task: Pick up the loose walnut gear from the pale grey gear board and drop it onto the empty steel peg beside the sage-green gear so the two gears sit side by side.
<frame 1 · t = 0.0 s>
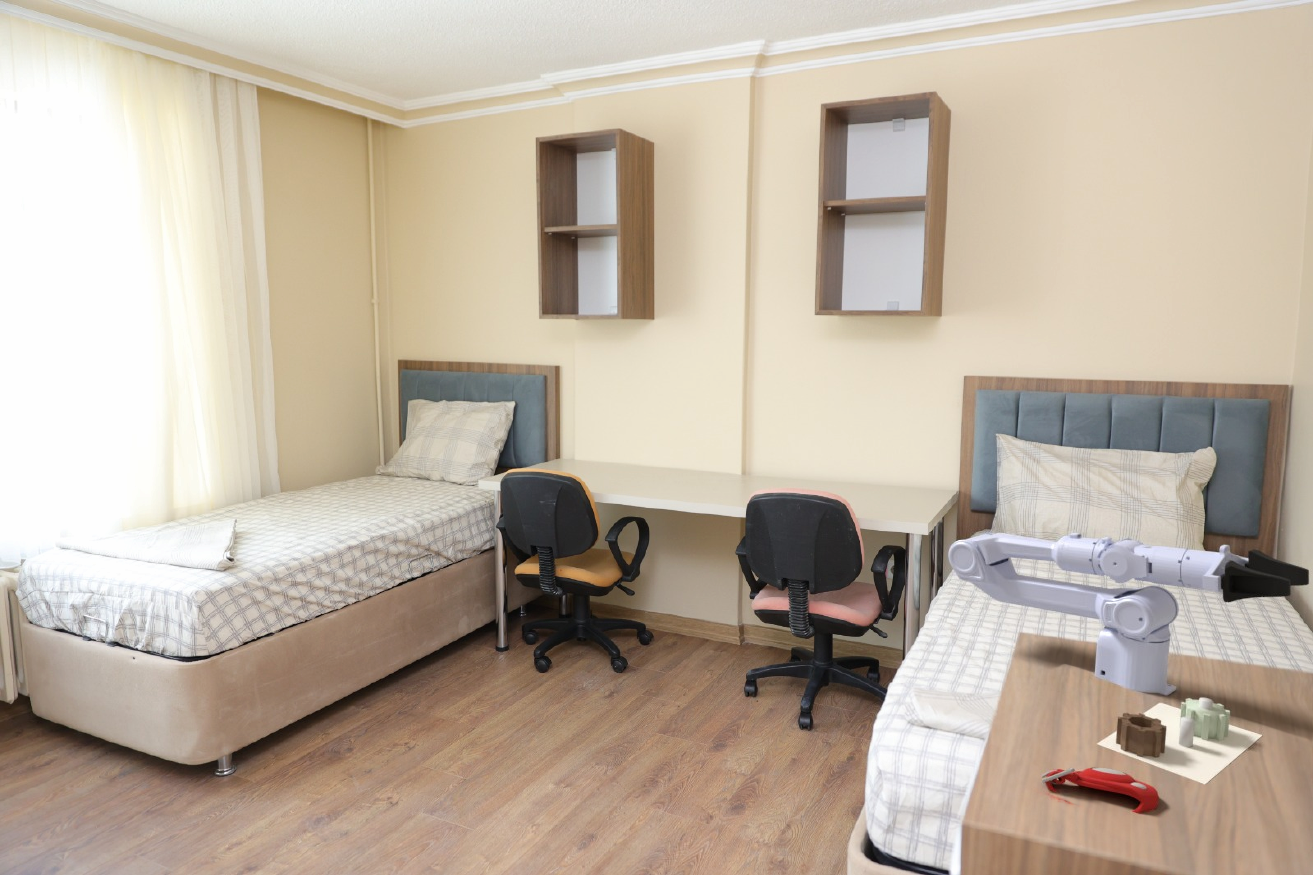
hand: (1299, 582, 119), 22 cm above the table, tool horizontal, fingers open, 7 cm apart
red peeler: (1095, 798, 106), on the table
walnut gear: (1139, 747, 116), point 1 cm above the table, touching gear board
gear board: (1179, 746, 118), on the table
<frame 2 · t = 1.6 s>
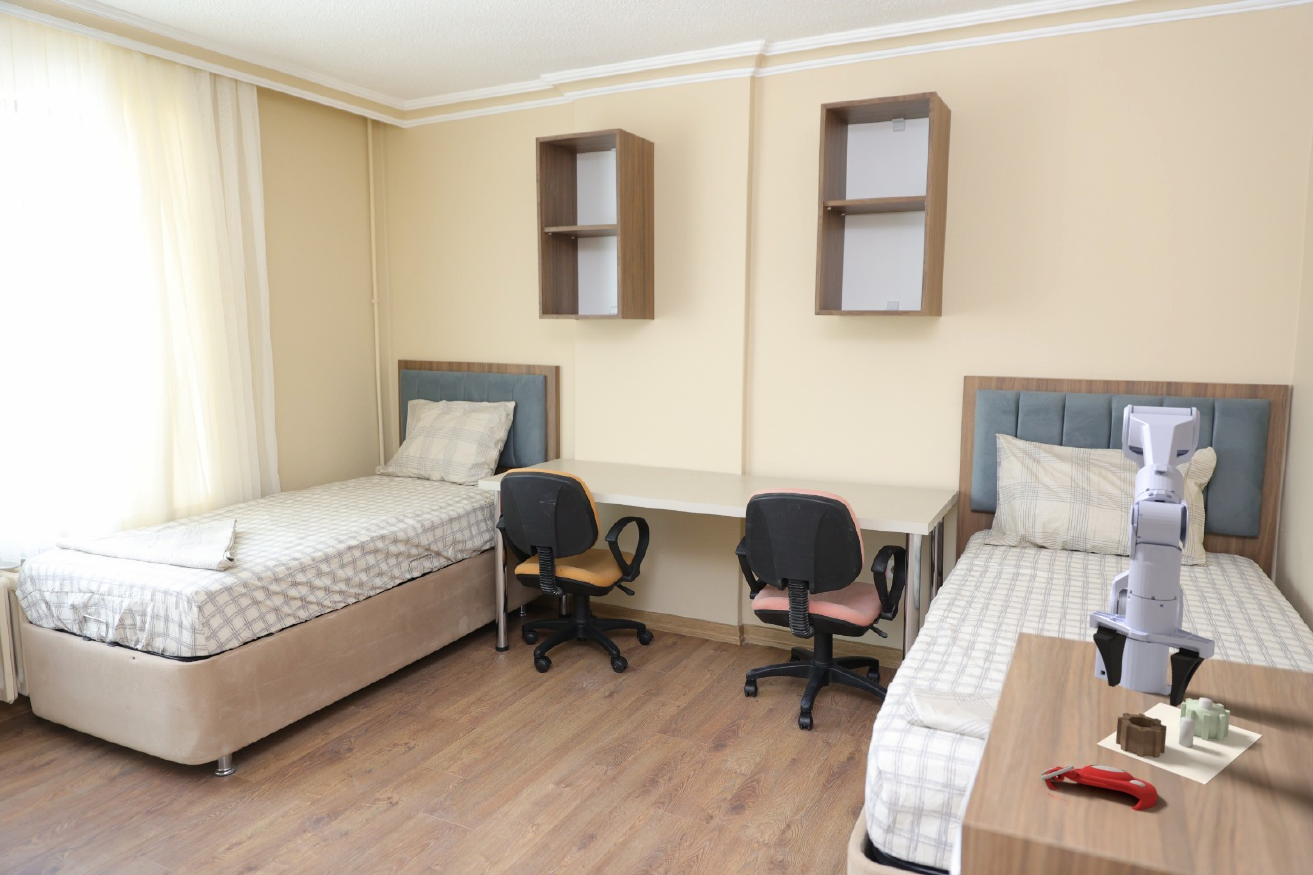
hand: (1144, 694, 115), 8 cm above the table, tool pointing down, fingers open, 7 cm apart
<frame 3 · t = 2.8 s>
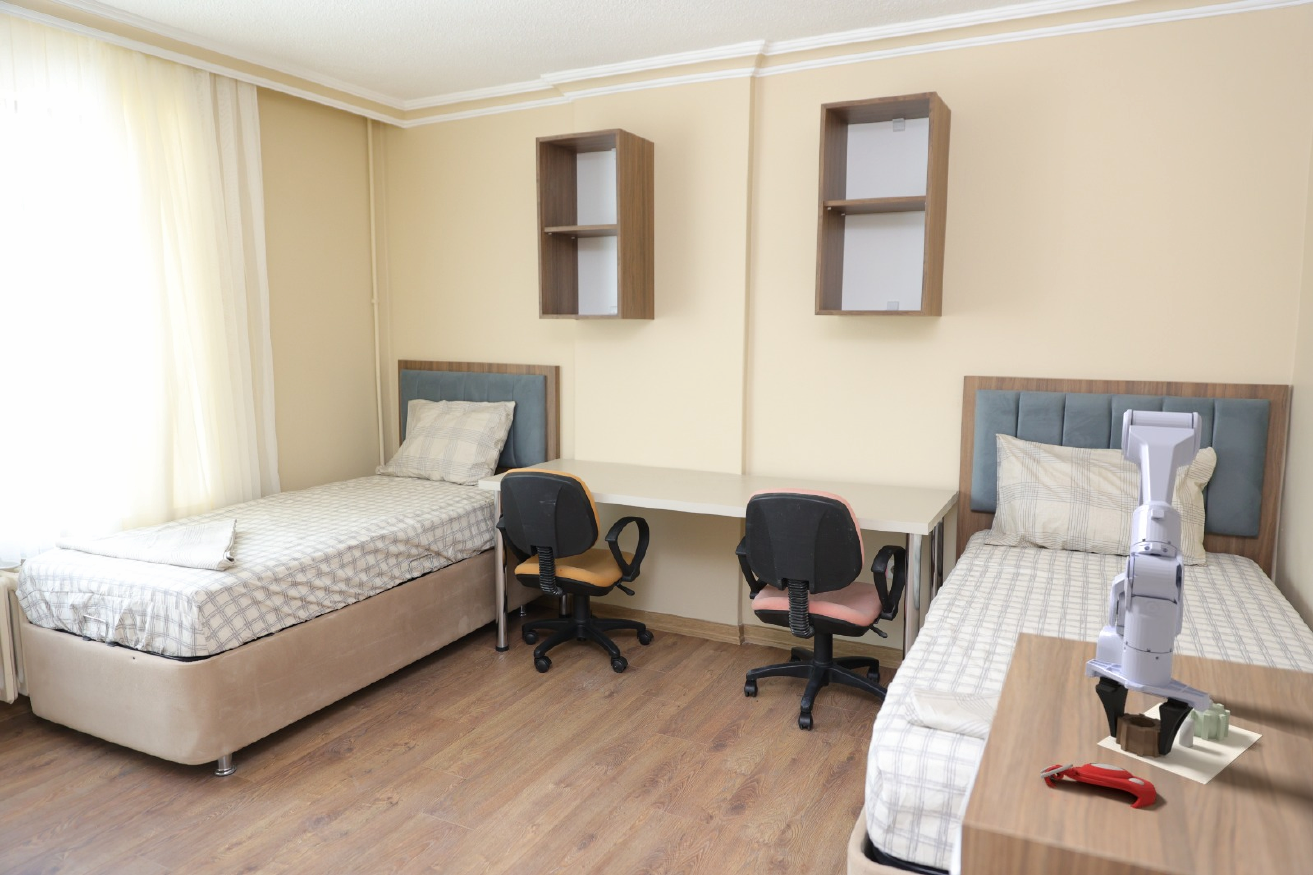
hand: (1140, 743, 116), 2 cm above the table, tool pointing down, fingers closed on walnut gear, 5 cm apart
walnut gear: (1139, 747, 116), point 1 cm above the table, touching gear board, gripper
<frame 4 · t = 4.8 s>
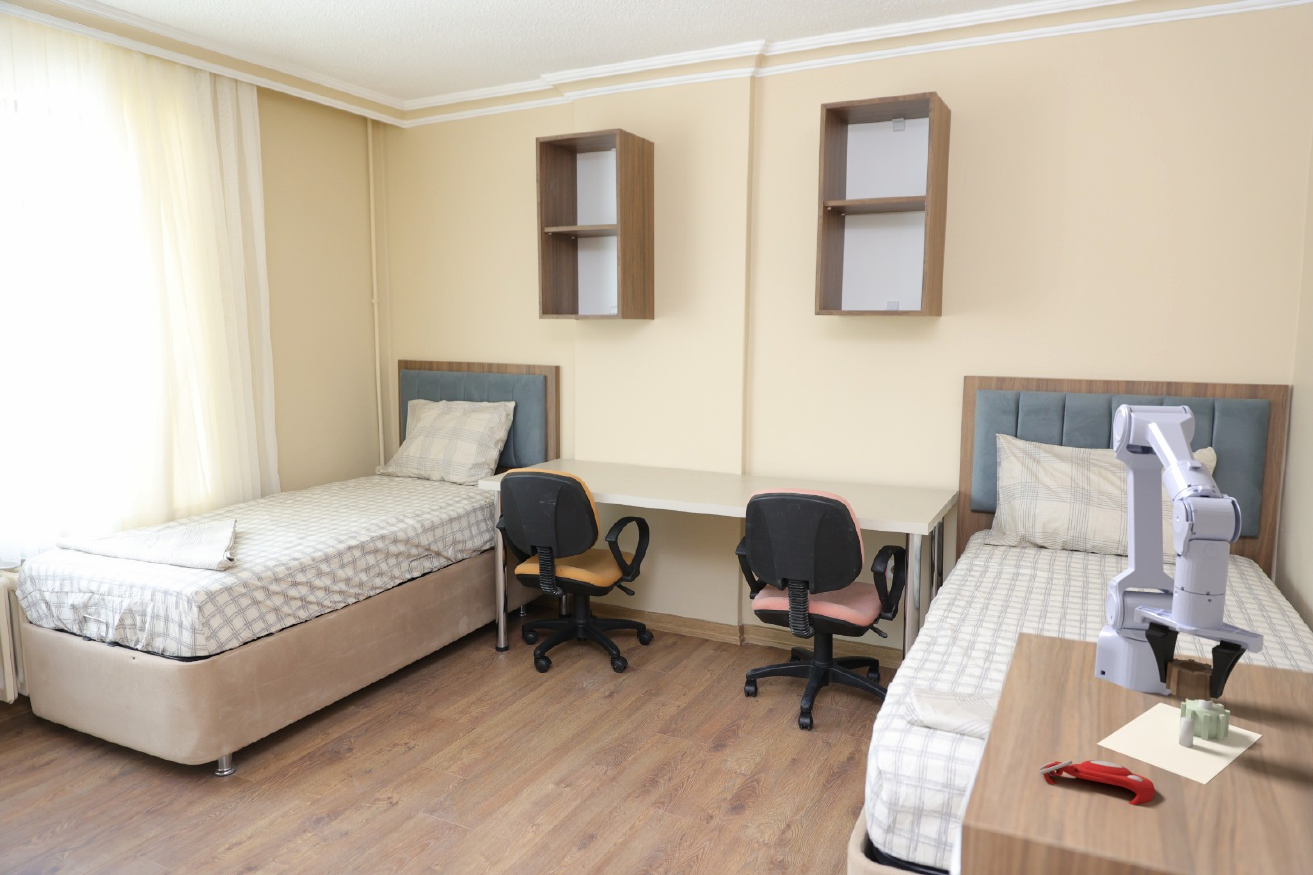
hand: (1190, 688, 115), 9 cm above the table, tool pointing down, fingers closed on walnut gear, 5 cm apart
walnut gear: (1190, 692, 115), point 8 cm above the table, touching gripper
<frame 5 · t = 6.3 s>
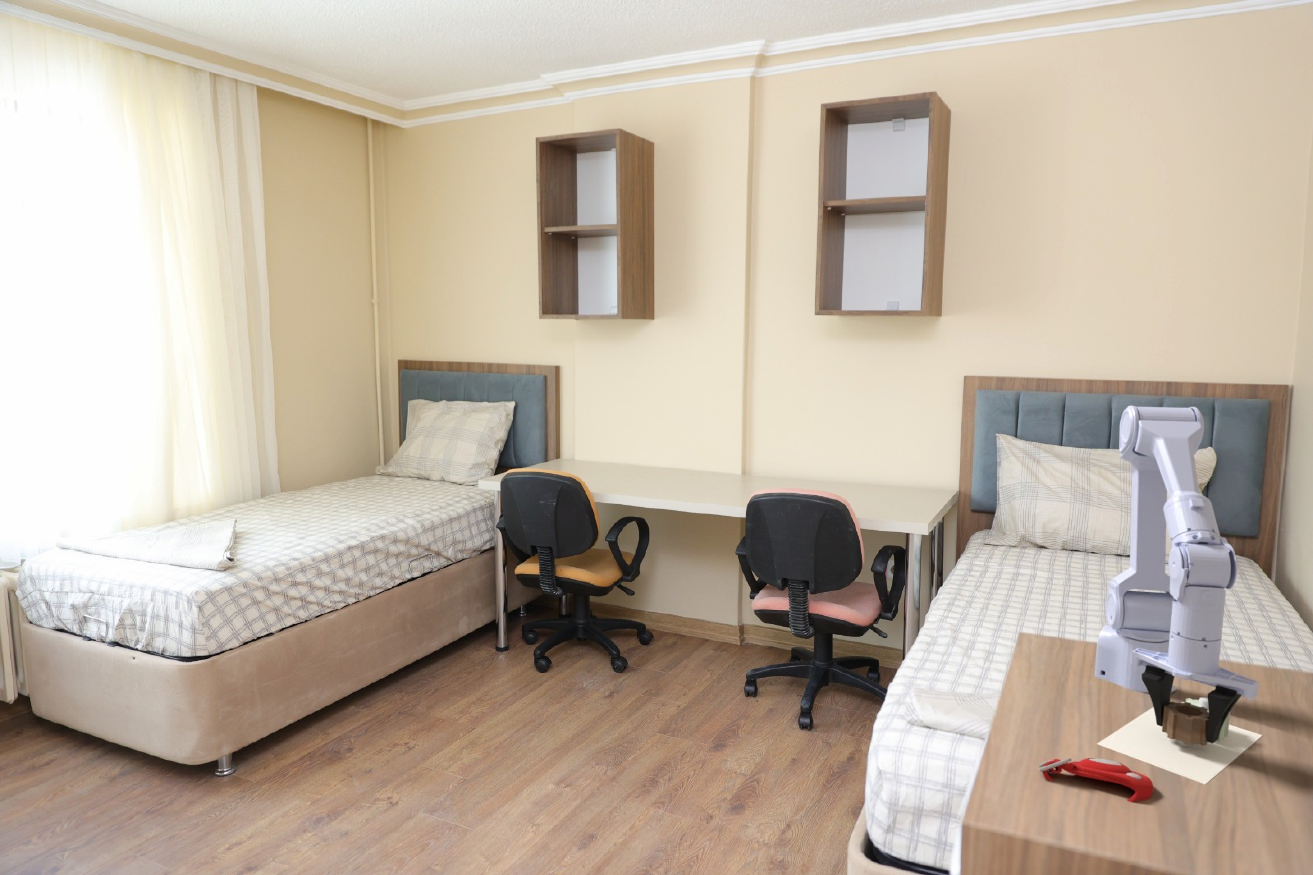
hand: (1186, 731, 116), 3 cm above the table, tool pointing down, fingers closed on walnut gear, 5 cm apart
walnut gear: (1186, 735, 116), point 2 cm above the table, touching gripper
when the fingers open (3 cm above the table, at t = 7.1 s): walnut gear drops 1 cm, resting on gear board.
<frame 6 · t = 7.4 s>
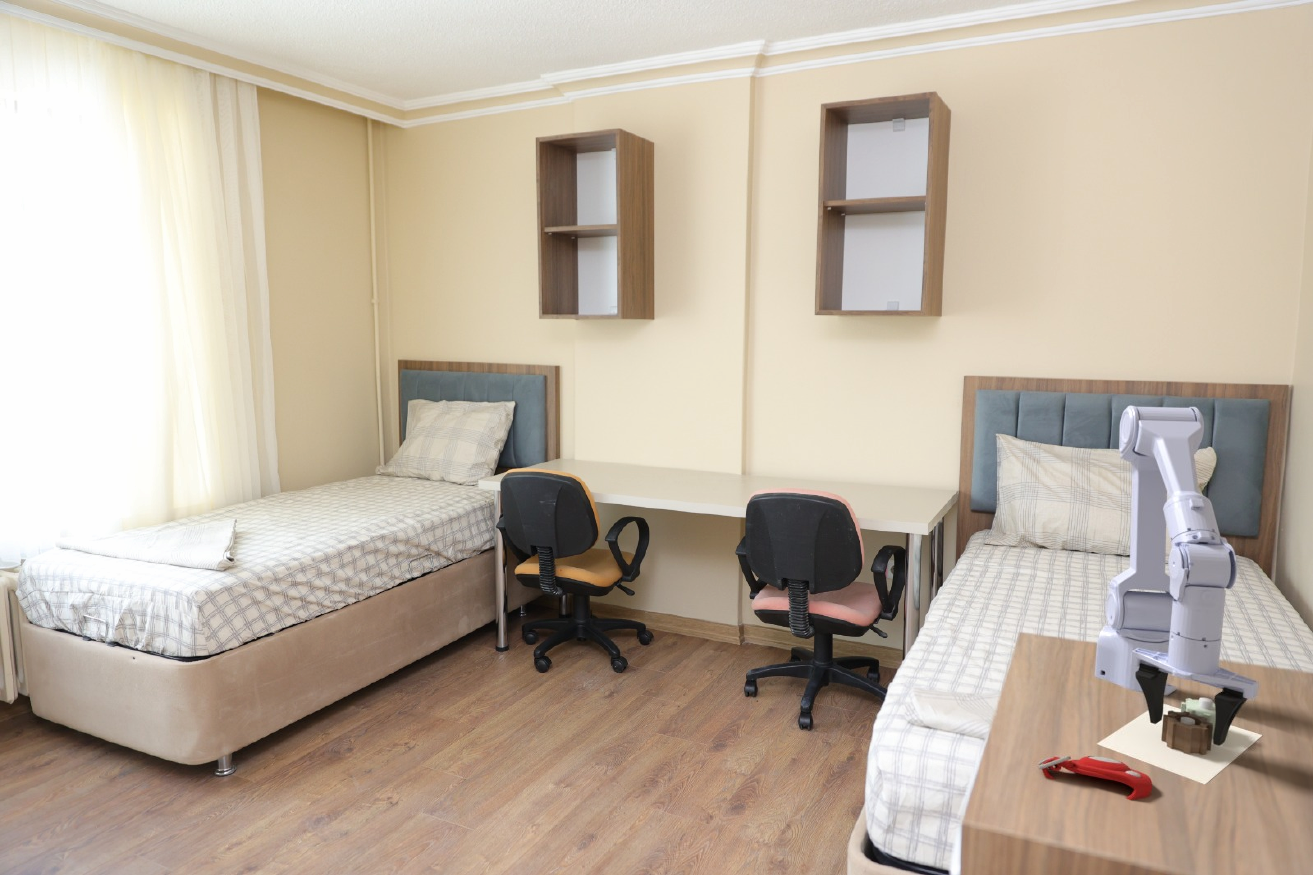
hand: (1186, 731, 116), 3 cm above the table, tool pointing down, fingers open, 7 cm apart
walnut gear: (1185, 744, 117), point 1 cm above the table, touching gear board
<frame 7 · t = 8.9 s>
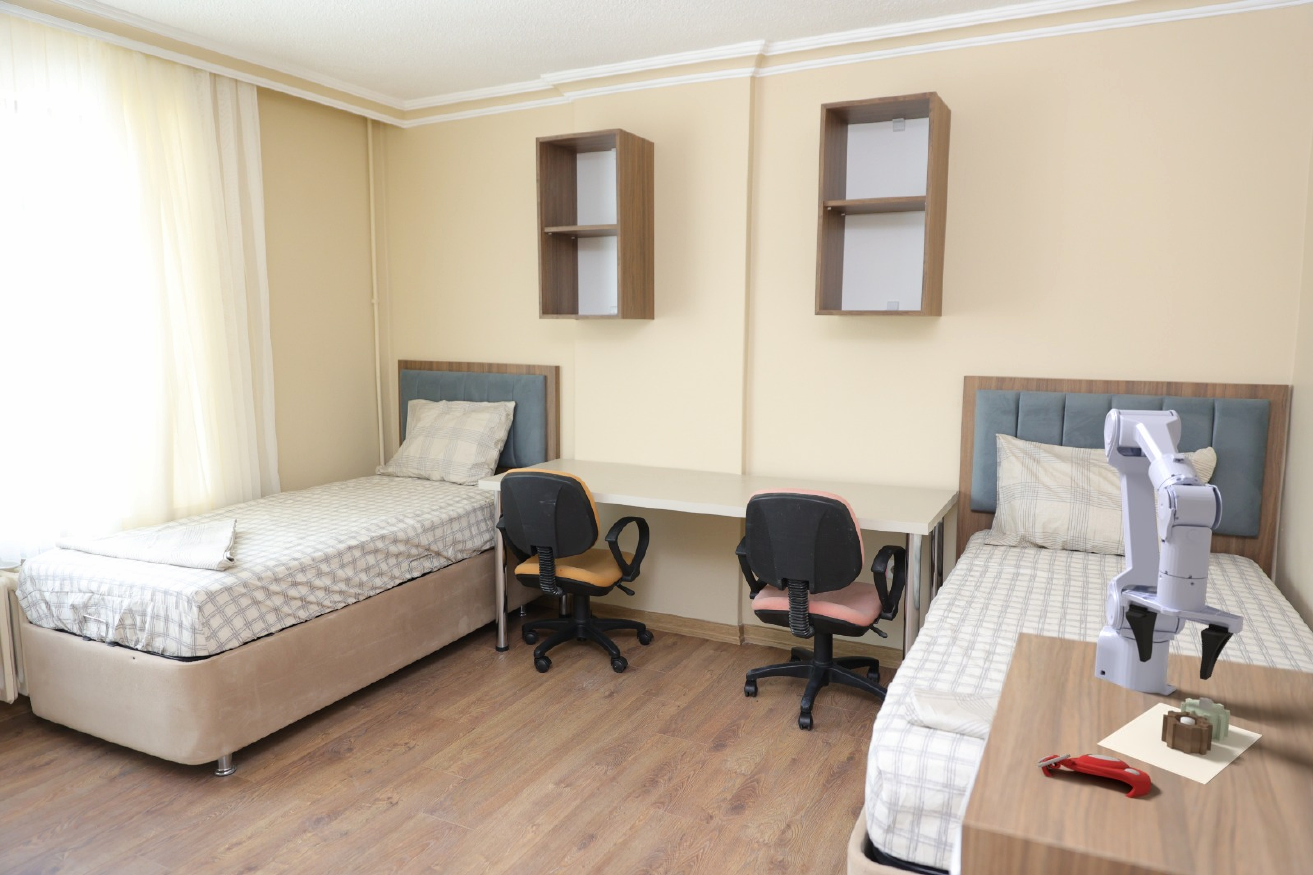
hand: (1174, 668, 121), 9 cm above the table, tool pointing down, fingers open, 7 cm apart
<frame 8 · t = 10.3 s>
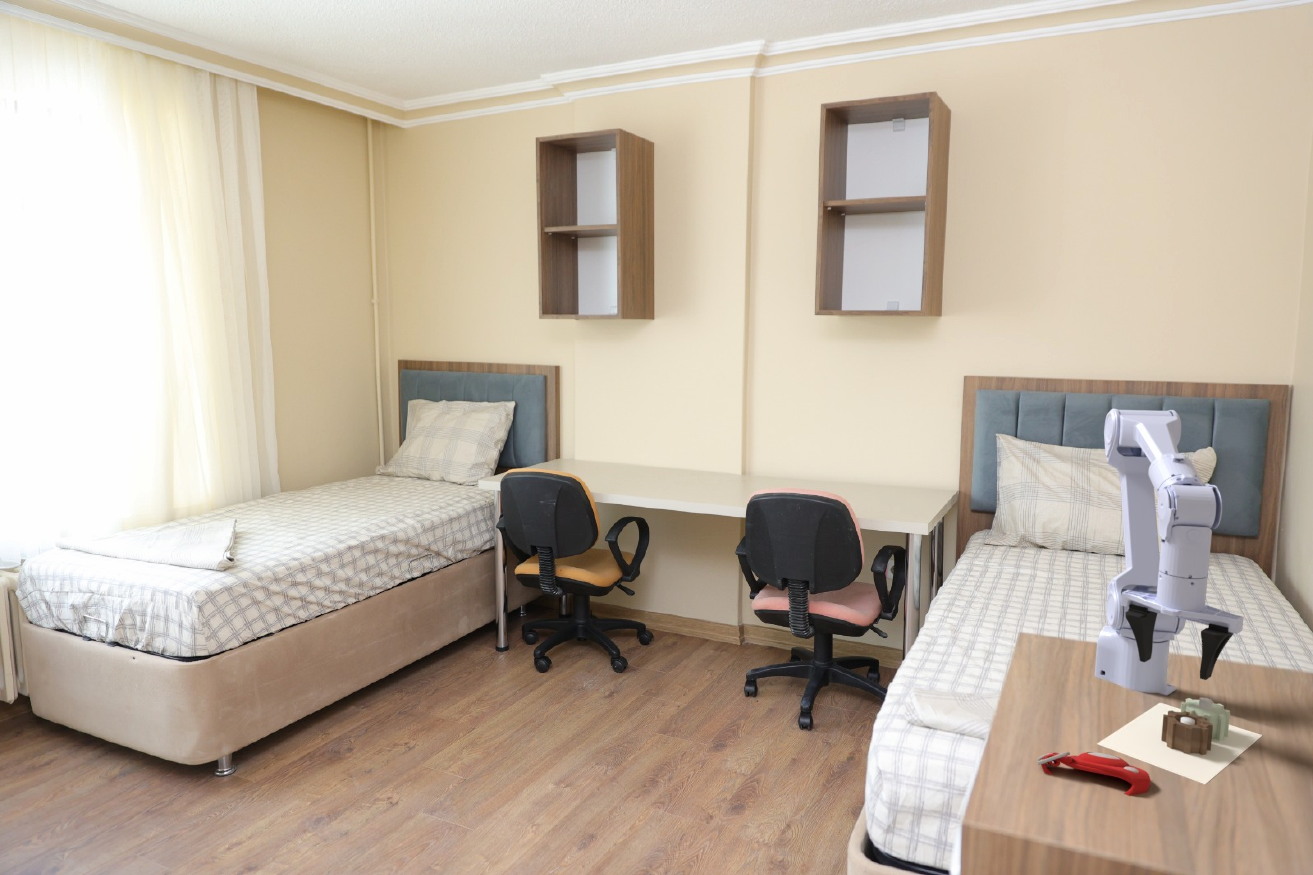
hand: (1174, 668, 121), 9 cm above the table, tool pointing down, fingers open, 7 cm apart
at the end: walnut gear 0.0 cm from the target spot on the gear board, point 1.0 cm above the gear board's base; walnut gear tilted 0°; the gripper is holding nothing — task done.
